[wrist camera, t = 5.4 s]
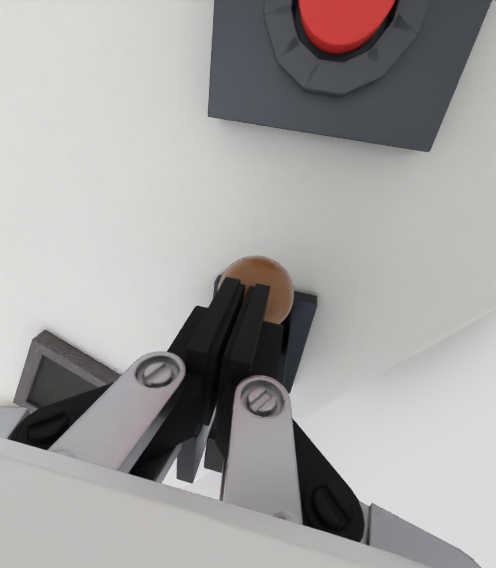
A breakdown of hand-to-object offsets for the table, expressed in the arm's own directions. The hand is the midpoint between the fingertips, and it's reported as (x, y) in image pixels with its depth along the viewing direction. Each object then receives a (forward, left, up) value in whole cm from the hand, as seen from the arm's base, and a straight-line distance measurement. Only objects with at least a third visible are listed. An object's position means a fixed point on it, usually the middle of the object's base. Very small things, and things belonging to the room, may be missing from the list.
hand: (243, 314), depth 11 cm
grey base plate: (-1, -11, -11) cm, 16 cm away
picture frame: (+17, +26, -12) cm, 33 cm away
